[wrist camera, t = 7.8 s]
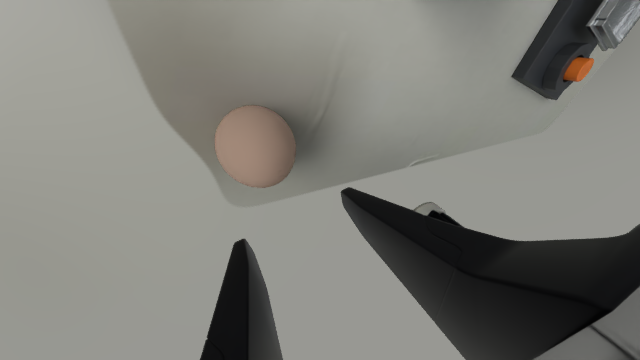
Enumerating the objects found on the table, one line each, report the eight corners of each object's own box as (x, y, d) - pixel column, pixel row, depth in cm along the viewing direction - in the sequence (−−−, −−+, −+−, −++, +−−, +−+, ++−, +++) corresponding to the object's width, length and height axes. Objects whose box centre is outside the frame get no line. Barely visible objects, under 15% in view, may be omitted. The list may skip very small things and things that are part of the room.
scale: (546, 98, 35) (569, 102, 33) (511, 76, 29) (538, 80, 26) (629, -20, 29) (666, -24, 27) (609, -84, 22) (656, -96, 20)
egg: (252, 80, 16) (280, 106, 11) (291, 133, 19) (326, 171, 14) (194, 124, 16) (196, 171, 11) (243, 170, 19) (262, 221, 14)
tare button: (565, 81, 30) (580, 84, 29) (559, 76, 29) (574, 78, 28) (580, 60, 29) (596, 62, 28) (574, 54, 28) (591, 55, 26)
